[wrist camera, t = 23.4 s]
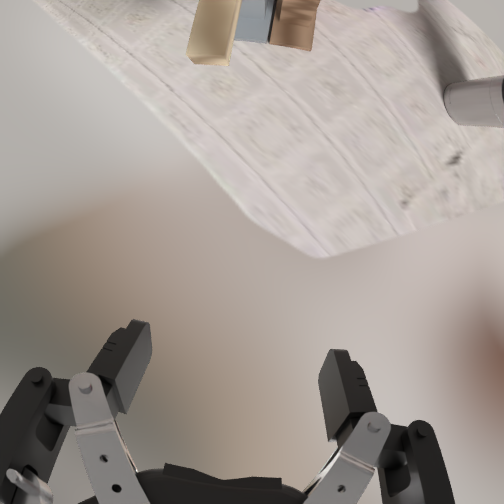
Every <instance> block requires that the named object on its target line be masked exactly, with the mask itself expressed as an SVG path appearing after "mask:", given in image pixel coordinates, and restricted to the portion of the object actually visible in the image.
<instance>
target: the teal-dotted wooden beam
mask: <svg viewBox="0 0 504 504" xmlns="http://www.w3.org/2000/svg"><path fill="white" fill-rule="evenodd" d="M241 4H242V0H199V3H198V7H197V10H196V14H195V18H194V22H193V26H192V30H191V34H190V38H189V43H188V47H187V52H186V55H187V56H188V57H189V58H190V60H191V61H192V62H193V63H194V64H204V65H223V66H229V62H230V57H231V51H232V46H233V41H234V36H235V31H236V27H237V22H238V17H239V13H240V8H241Z"/></svg>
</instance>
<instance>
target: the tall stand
mask: <svg viewBox="0 0 504 504" xmlns="http://www.w3.org/2000/svg"><path fill="white" fill-rule="evenodd" d="M319 3H320V0H277V4H276V10H275V15H274V21H273V26H272V32H271V38H270V44H273V45H280V46H286V47H291V48H297V49H302V50H307V51H311V49H312V43H313V35H314V28H315V20H316V12H317V7H318V5H319Z"/></svg>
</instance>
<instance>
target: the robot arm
mask: <svg viewBox="0 0 504 504" xmlns="http://www.w3.org/2000/svg"><path fill="white" fill-rule="evenodd" d="M444 102H445V106H446V109H447V112H448V114H449V115H450V117H451V118H452V119H453V121H455V122H456V123H457V124H459V125H463V126H484V127H499V128H504V76H496V77H488V78H481V79H475V80H469V81H463V82H458V83H453V84H450V85H448V86H447V87H446V89H445V92H444ZM151 355H152V342H151V332H150V324H149V323H148V322H144V321H139V320H135V319H133V320H131V322H130V323H129V325H128V326H127V328H126V329H125V328H119V329H118V330H116V331H115V332H113V333H112V334H111V336H110V337H109V338H108V340H107V343H105V344H104V346H103V349H101V351H100V352H99V353H98V355H97V357H96V358H95V360H94V361H93V363H92V364H91V366H90V367H89V369H88V371H87V372H84V373H79V374H77V375H75V376H74V377H73V378H72V379H71V380H68V379H58V378H52V376H51V374H50V372H49V371H48V370H47V369H45V368H42V367H36V368H33V369H31V370H29V371H28V372H27V373H26V374H25V376H24V377H23V379H22V380H21V382H20V383H19V385H18V386H17V388H16V390H15V391H14V393H13V394H12V396H11V397H10V399H9V401H8V402H7V404H6V406H5V407H4V409H3V411H2V413H1V414H0V504H53V494H52V491H51V489H50V487H49V486H48V485H47V483H48V480H49V478H50V475H51V472H52V470H53V467H54V464H55V461H56V459H57V456H58V454H59V451H60V449H61V446H62V444H63V442H64V439H65V437H66V434H67V432H68V430H69V428H70V426H77V430H75V435H76V439H77V442H78V446H79V449H80V453H81V456H82V460H83V462H84V466H85V469H86V471H87V474H88V477H89V480H90V483H91V485H92V488H93V490H94V493H95V496H93V497H91V498H89V499H87V500H85V501H82V502H80V503H78V504H357V502H358V500H359V499H360V497H361V495H362V494H363V492H364V490H365V489H366V487H367V485H368V484H369V482H370V480H371V478H372V476H373V474H374V472H375V469H374V468H373V467H377V469H378V475H379V481H380V488H381V495H382V503H383V504H455V501H454V497H453V492H452V488H451V485H450V481H449V478H448V474H447V470H446V467H445V463H444V460H443V457H442V454H441V450H440V447H439V444H438V441H437V438H436V435H435V433H434V430H433V428H432V426H431V425H430V424H429V423H427V422H425V421H422V420H416V421H413V422H412V423H411V424H410V425H409V426H408V427H406V426H399V425H394V424H390V422H389V420H388V419H387V418H386V417H385V416H384V415H383V414H381V413H378V412H377V409H376V406H375V403H374V400H373V397H372V394H371V391H370V388H369V387H368V382H367V380H366V376H365V374H364V371H363V369H362V367H361V366H360V365H359V364H358V363H357V362H356V361H351V359H350V356H349V353H348V351H347V350H340V349H330V350H329V352H328V354H327V357H326V359H325V361H324V364H323V366H322V368H321V370H320V373H319V379H318V384H319V390H320V395H321V401H322V407H323V413H324V419H325V424H326V430H327V437H328V442H337V445H338V447H337V448H336V449H335V451H334V452H333V454H332V455H331V457H330V458H329V459H328V461H327V462H326V464H325V465H324V466H323V468H322V469H321V470H320V472H319V473H318V474H317V476H316V477H315V478H314V479H313V480H312V481H311V483H310V484H309V485H308V486H307V487H306V488H305V489H304V490H303V492H301V491H299V490H297V489H295V488H293V487H290V486H287V485H284V484H282V481H281V478H267V477H247V478H239V479H230V480H221V479H218V478H215V477H212V476H209V475H207V474H204V473H202V472H199V471H197V470H194V469H191V468H186V467H181V466H176V465H172V464H167V463H165V466H164V469H150V470H145V471H141V472H138V470H137V468H136V466H135V464H134V462H133V460H132V458H131V455H130V453H129V451H128V449H127V447H126V444H125V442H124V439H123V437H122V434H121V432H120V429H119V427H118V424H117V421H116V419H115V418H116V416H117V414H118V412H121V413H124V414H127V411H128V409H129V407H130V404H131V402H132V400H133V397H134V395H135V393H136V391H137V388H138V386H139V384H140V381H141V379H142V377H143V375H144V373H145V370H146V368H147V366H148V364H149V361H150V359H151Z"/></svg>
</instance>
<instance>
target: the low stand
mask: <svg viewBox="0 0 504 504" xmlns="http://www.w3.org/2000/svg"><path fill="white" fill-rule="evenodd" d="M273 6H274V0H242V4H241V8H240V13H239V17H238V22H237V27H236V31H235V36H234V40H238V41H249V42H258V43H266V44H267V39H268V33H269V28H270V22H271V17H272V11H273Z"/></svg>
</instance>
